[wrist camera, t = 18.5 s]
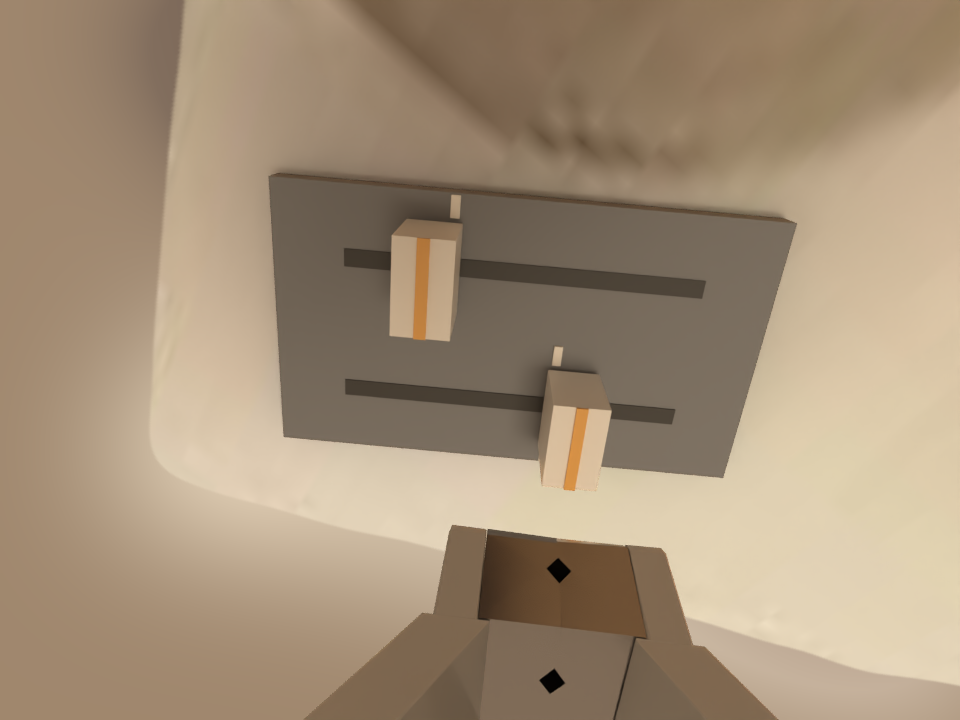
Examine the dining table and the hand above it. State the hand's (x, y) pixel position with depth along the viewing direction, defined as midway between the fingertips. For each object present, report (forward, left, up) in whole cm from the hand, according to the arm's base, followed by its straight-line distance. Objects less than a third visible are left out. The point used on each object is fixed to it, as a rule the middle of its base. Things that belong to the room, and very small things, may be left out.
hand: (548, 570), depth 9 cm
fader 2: (-4, +10, -25) cm, 27 cm away
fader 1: (+5, +2, -25) cm, 26 cm away
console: (-1, +6, -27) cm, 28 cm away
